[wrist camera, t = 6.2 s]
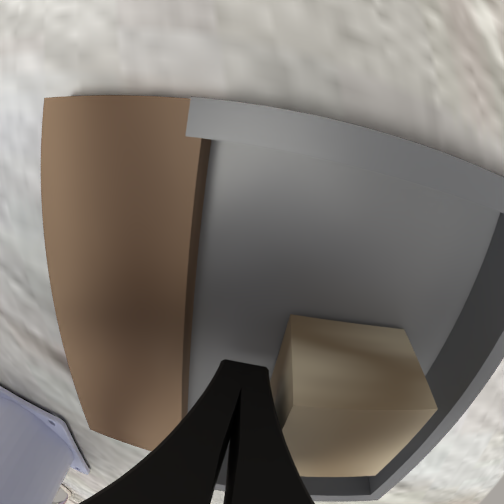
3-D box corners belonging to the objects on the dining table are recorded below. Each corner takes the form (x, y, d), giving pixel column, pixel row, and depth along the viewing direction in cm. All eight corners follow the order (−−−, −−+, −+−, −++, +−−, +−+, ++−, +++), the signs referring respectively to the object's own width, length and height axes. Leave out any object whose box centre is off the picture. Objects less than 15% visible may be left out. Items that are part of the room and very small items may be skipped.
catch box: (187, 439, 14) (175, 480, 12) (218, 102, 8) (191, 96, 6) (372, 461, 14) (377, 500, 11) (519, 188, 8) (568, 211, 5)
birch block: (265, 394, 11) (260, 473, 8) (290, 314, 10) (293, 405, 7) (361, 402, 11) (375, 475, 8) (404, 329, 10) (437, 408, 7)
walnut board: (99, 412, 14) (90, 429, 13) (69, 97, 8) (44, 98, 7) (187, 439, 14) (181, 459, 13) (218, 102, 8) (206, 100, 7)
